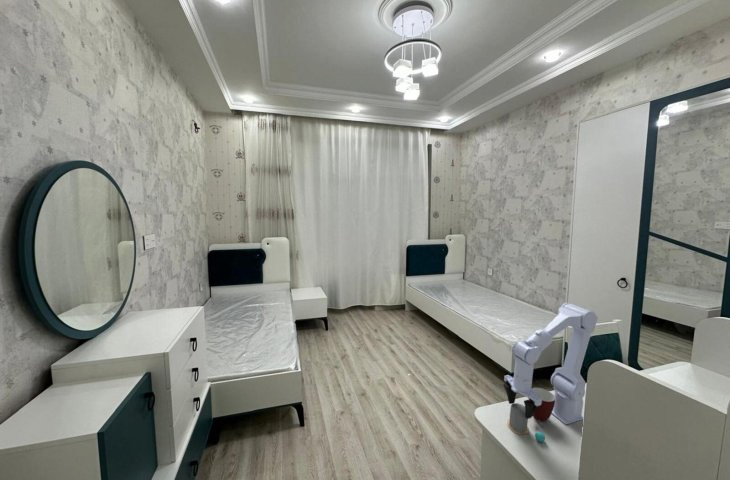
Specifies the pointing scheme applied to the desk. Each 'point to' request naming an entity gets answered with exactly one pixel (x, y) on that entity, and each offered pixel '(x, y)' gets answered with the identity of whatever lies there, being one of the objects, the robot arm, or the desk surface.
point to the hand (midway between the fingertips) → (519, 410)
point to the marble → (540, 436)
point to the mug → (544, 404)
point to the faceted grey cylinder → (518, 418)
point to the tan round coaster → (517, 431)
